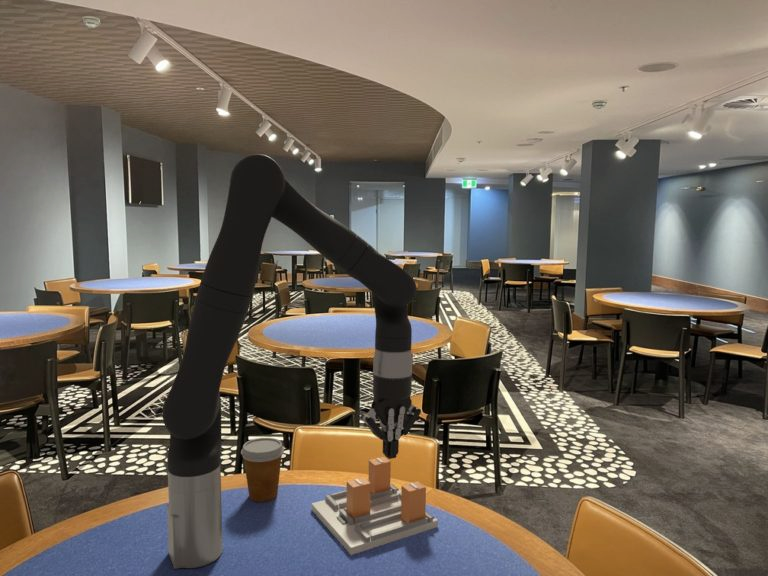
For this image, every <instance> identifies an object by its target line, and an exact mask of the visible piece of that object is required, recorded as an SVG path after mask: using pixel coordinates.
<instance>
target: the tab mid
mask: <svg viewBox="0 0 768 576" xmlns="http://www.w3.org/2000/svg"><path fill="white" fill-rule="evenodd" d="M346 490H347V514H348V515H349V516H350V517H351V518H352V519H353V520H354V518H355V517H359V516H362V515H366V514H369V513H370V482H369V480H367V479H366V478H365V477H364V476H363V477H359V478H355V479H352V480H347V481H346Z"/></svg>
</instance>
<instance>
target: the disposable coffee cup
mask: <svg viewBox="0 0 768 576" xmlns="http://www.w3.org/2000/svg"><path fill="white" fill-rule="evenodd" d="M284 452H285V447H284V446H283V443H282V441H280V440H279V439H277V438H273V437H258V438H253V439H250V440H248V441H246V442H245V443H244V444H243V445H242V449H241V451H240V454H241V456H242V458H243V463H244V464H243V465H244V471H245V478H246V483H247V484H246V485H247V490H248V496H249V499H250V500H252V501H253V502H259V503H260V502H261V503H262V502H268V501H272V500H273V499H275V498H276V497H277V496H278V491H279V482H280V476H281V475H280V474H281V467H282V466H281V465H282V455H283V453H284Z"/></svg>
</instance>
